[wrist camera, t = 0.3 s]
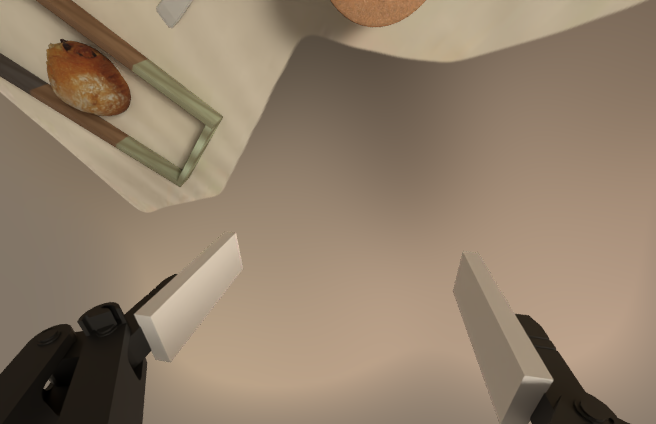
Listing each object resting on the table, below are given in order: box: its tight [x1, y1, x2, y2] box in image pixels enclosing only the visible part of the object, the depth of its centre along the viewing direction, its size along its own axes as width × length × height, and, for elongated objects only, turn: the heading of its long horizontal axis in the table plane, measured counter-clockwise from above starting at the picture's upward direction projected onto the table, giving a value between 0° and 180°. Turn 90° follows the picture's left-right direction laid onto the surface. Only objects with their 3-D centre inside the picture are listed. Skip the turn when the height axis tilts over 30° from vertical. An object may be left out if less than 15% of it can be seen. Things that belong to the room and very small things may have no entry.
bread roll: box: [46, 39, 131, 116], centre depth 39 cm, size 10×10×8 cm
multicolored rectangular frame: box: [0, 0, 223, 187], centre depth 39 cm, size 18×38×3 cm, turn 49°
